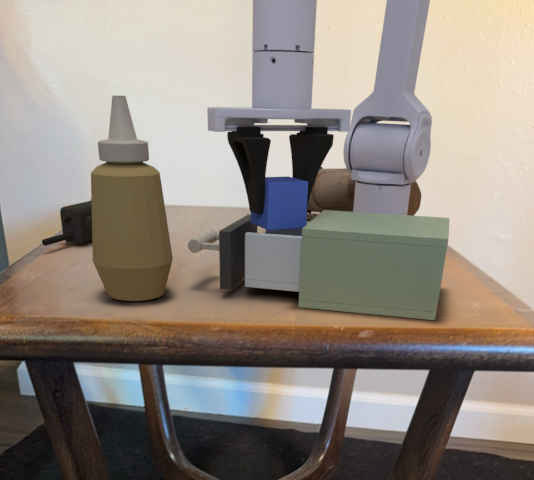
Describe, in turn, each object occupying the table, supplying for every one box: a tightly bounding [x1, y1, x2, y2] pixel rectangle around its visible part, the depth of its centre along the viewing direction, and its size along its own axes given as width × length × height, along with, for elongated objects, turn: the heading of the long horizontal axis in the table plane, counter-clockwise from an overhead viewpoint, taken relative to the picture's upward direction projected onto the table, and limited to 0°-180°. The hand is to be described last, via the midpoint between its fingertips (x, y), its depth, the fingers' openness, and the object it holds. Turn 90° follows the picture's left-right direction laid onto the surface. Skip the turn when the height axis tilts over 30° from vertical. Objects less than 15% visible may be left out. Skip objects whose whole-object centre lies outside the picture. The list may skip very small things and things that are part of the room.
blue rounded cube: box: [250, 176, 308, 230], centre depth 64 cm, size 4×4×4 cm
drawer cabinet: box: [298, 210, 450, 321], centre depth 65 cm, size 14×12×8 cm
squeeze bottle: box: [90, 95, 174, 302], centre depth 61 cm, size 8×8×18 cm
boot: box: [307, 166, 422, 216], centre depth 106 cm, size 8×24×17 cm
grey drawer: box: [187, 214, 309, 293], centre depth 67 cm, size 17×10×6 cm, turn 76°
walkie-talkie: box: [41, 200, 92, 247], centre depth 86 cm, size 5×3×15 cm
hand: (278, 211), depth 65 cm, fingers closed on blue rounded cube, 4 cm apart
